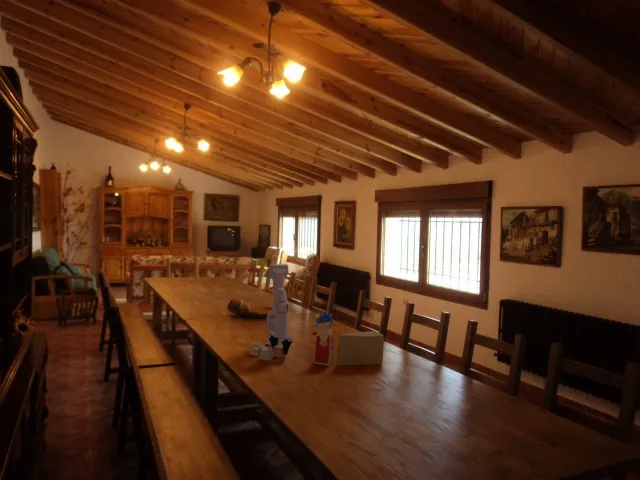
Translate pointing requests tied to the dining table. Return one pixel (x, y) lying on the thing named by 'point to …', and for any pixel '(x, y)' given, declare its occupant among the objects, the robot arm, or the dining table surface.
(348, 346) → the cheese
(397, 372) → the dining table surface
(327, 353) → the milk carton
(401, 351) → the dining table surface
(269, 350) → the grey painted block
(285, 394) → the dining table surface
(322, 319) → the grapes
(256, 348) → the birch base block
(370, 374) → the dining table surface
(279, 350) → the terracotta block
